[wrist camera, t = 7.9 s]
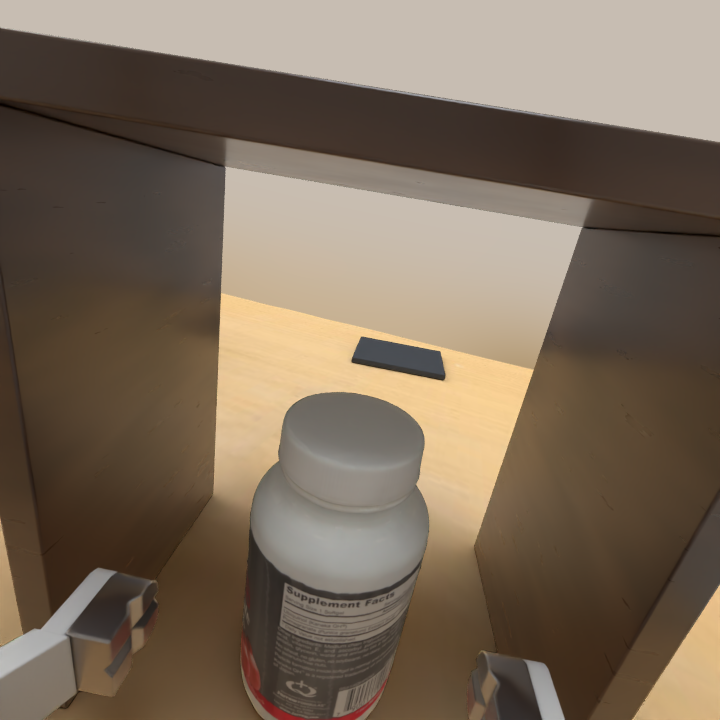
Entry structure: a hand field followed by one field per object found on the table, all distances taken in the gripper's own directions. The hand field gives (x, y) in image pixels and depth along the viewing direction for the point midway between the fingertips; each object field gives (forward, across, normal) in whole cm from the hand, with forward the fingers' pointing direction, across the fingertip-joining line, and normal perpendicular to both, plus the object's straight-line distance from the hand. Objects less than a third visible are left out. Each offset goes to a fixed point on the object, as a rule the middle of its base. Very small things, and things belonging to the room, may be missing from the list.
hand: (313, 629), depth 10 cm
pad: (+37, -3, +6) cm, 37 cm away
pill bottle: (+3, 0, +6) cm, 6 cm away
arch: (+5, 0, +5) cm, 7 cm away
